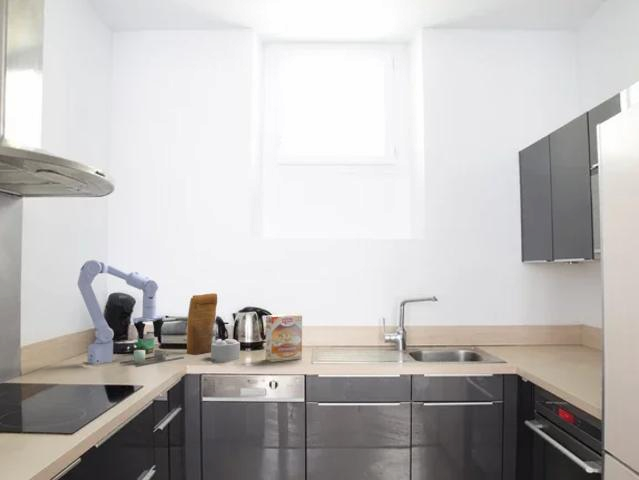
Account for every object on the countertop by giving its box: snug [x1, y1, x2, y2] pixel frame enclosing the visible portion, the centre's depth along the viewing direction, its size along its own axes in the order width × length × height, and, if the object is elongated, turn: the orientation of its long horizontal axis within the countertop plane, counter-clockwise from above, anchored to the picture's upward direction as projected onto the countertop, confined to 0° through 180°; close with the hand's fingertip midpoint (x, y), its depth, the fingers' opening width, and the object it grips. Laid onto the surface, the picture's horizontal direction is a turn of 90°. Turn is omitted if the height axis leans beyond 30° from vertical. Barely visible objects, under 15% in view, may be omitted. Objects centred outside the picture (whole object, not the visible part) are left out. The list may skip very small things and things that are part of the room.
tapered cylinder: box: [133, 349, 146, 364], centre depth 207 cm, size 4×4×5 cm
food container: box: [136, 331, 157, 355], centre depth 232 cm, size 12×6×10 cm, turn 179°
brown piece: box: [124, 348, 167, 367], centre depth 210 cm, size 15×9×5 cm, turn 144°
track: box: [119, 353, 185, 368], centre depth 212 cm, size 23×12×2 cm, turn 144°
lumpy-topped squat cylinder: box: [210, 338, 241, 363], centre depth 221 cm, size 10×13×9 cm
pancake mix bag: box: [186, 293, 218, 356], centre depth 238 cm, size 7×19×28 cm, turn 145°
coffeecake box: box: [265, 313, 303, 363], centre depth 221 cm, size 15×7×20 cm, turn 118°
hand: (148, 337), depth 221 cm, fingers open, 7 cm apart
